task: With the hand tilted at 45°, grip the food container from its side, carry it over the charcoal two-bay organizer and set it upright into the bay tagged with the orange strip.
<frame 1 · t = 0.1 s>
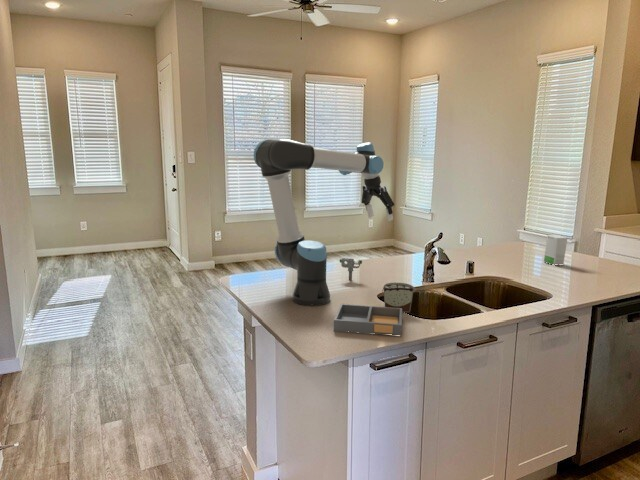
hand: (380, 218, 219), 28 cm above the worktop, tool tilted 20°, fingers open, 13 cm apart
organizer: (368, 324, 160), on the worktop
skincare box: (553, 264, 250), on the worktop
mechanical component: (350, 280, 215), on the worktop
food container: (396, 309, 176), on the worktop
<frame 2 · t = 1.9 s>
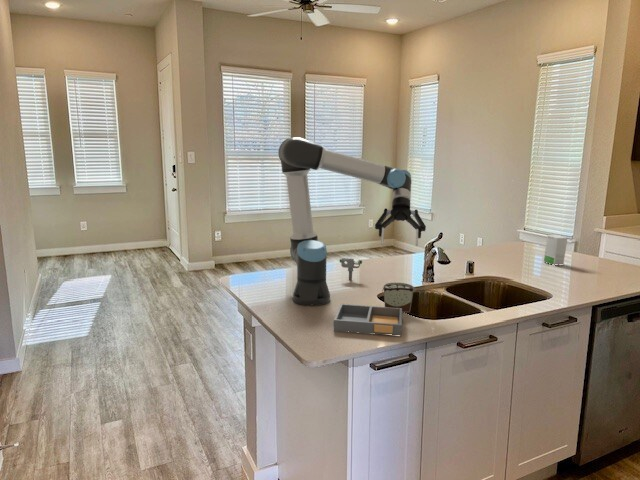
hand: (399, 243, 182), 24 cm above the worktop, tool tilted 45°, fingers open, 13 cm apart
nothing on the worktop moved.
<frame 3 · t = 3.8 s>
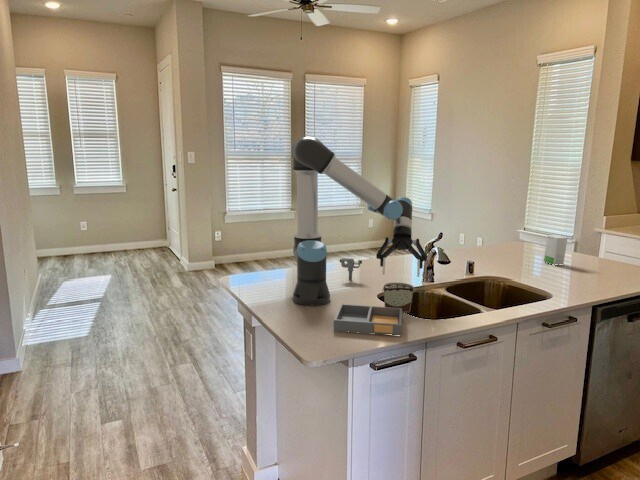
hand: (400, 274, 181), 12 cm above the worktop, tool tilted 45°, fingers open, 13 cm apart
nothing on the worktop moved.
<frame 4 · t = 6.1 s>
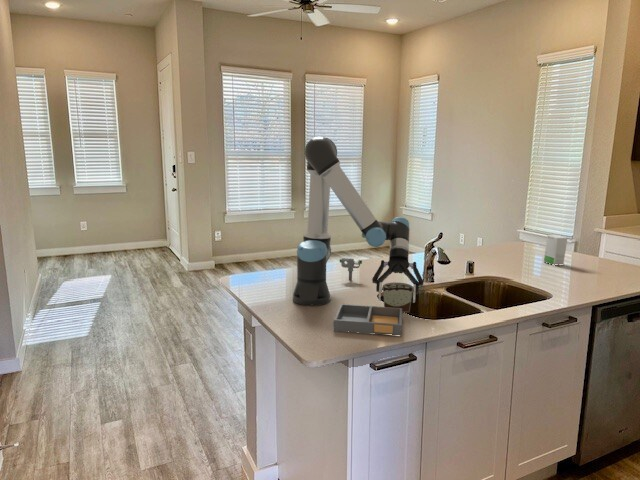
hand: (396, 300, 173), 5 cm above the worktop, tool tilted 45°, fingers open, 12 cm apart
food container: (395, 309, 176), on the worktop, touching gripper
everything else where it was.
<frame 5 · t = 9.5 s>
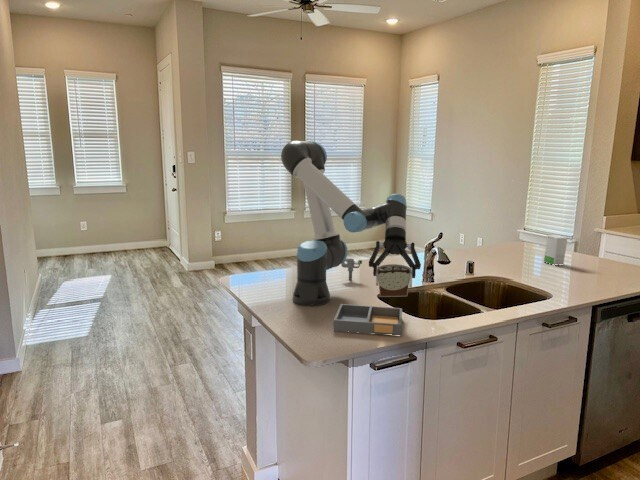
hand: (393, 284, 158), 14 cm above the worktop, tool tilted 45°, fingers closed on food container, 11 cm apart
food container: (392, 294, 161), point 10 cm above the worktop, touching gripper
everything else where it was.
when the fingers open (7 cm above the worktop, at t = 12.5 s): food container drops 2 cm, resting on organizer.
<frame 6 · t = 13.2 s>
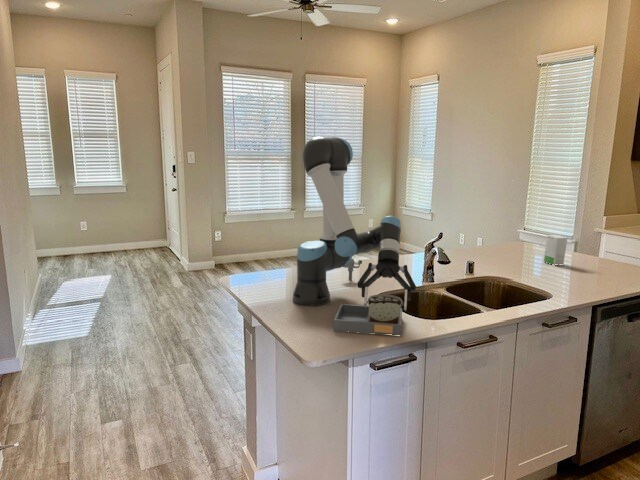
hand: (384, 307, 156), 8 cm above the worktop, tool tilted 45°, fingers open, 13 cm apart
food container: (382, 324, 158), point 1 cm above the worktop, touching organizer
everything else where it was.
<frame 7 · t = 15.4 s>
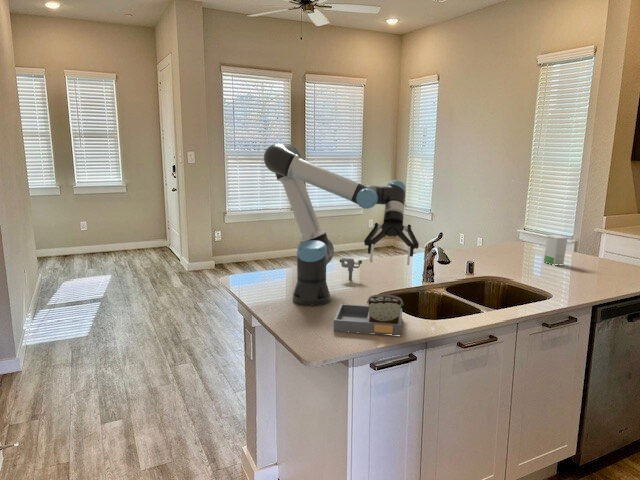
hand: (389, 262, 168), 20 cm above the worktop, tool tilted 45°, fingers open, 13 cm apart
nothing on the worktop moved.
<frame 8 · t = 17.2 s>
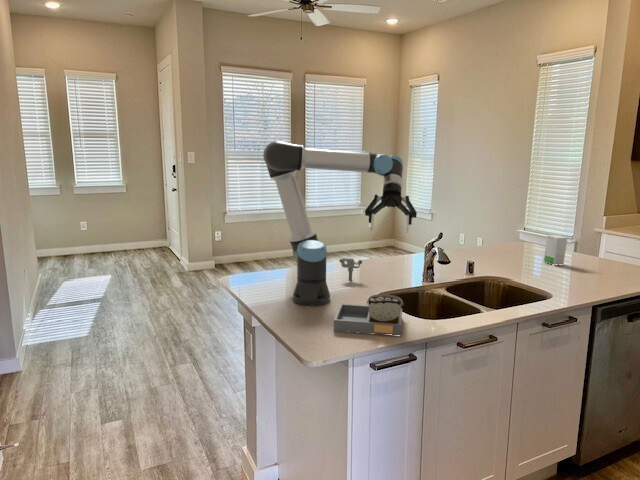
hand: (389, 229, 177), 30 cm above the worktop, tool tilted 45°, fingers open, 13 cm apart
nothing on the worktop moved.
at the end: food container 1.1 cm from the target spot on the organizer, point 0.8 cm above the organizer's base; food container tilted 0°; the gripper is holding nothing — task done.
